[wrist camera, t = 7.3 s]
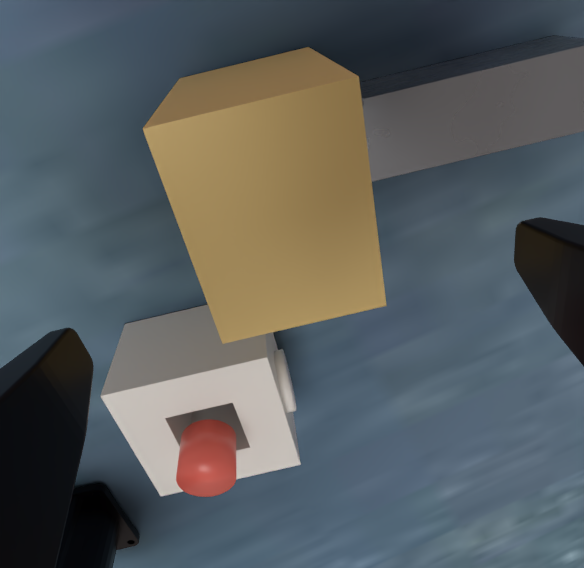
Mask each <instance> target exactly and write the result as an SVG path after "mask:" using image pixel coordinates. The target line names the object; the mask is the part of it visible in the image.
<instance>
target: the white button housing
mask: <svg viewBox="0 0 584 568" xmlns="http://www.w3.org/2000/svg"><path fill="white" fill-rule="evenodd" d="M101 398H102V400H103V401H104V403H105V405H106V406H107V408H108V410H109V411H110V413H111V415H112V416H113V418H114V420H115V421H116V423H117V425H118V426H119V428H120V430H121V431H122V433H123V435H124V436H125V438H126V440H127V441H128V443H129V445H130V446H131V448H132V450H133V451H134V453H135V454H136V456H137V458H138V459H139V461H140V463H141V464H142V466H143V468H144V469H145V471H146V473H147V474H148V476H149V478H150V479H151V481H152V483H153V484H154V486H155V488H156V489H157V491H158V493H159V494H160V496H165V495H170V494H174V493H179V492H183V490H182V489H181V488H180V487H179V486H178V484H177V482H176V474H177V466H178V458H179V450H180V442H181V435H182V433H183V431H184V430H185V428H186V427H188V426H189V425H190V424H192V423H194V422H197V421H200V420H207V419H212V420H219V421H222V422H225V423H227V424H228V425H230V426H231V427H232V428H233V429H234V431H235V433H236V479H240V478H244V477H249V476H253V475H257V474H262V473H266V472H271V471H275V470H279V469H284V468H288V467H293V466H297V465H301V463H300V456H299V449H298V442H297V435H296V428H295V421H294V415H293V411H296V402H295V396H294V390H293V385H292V381H291V376H290V372H289V368H288V364H287V360H286V357H285V354H284V351H283V349H281V350H278V348H277V344H276V341H275V338H274V334H273V332H272V333H267V334H263V335H259V336H254V337H250V338H246V339H242V340H237V341H233V342H229V343H225V344H222V341H221V338H220V336H219V333H218V330H217V328H216V325H215V322H214V320H213V317H212V314H211V311H210V309H209V306H208V305H204V306H199V307H195V308H191V309H187V310H182V311H178V312H174V313H170V314H165V315H161V316H157V317H152V318H148V319H144V320H140V321H135V322H131V323H127V324H125V325H124V328H123V331H122V334H121V337H120V340H119V343H118V346H117V349H116V352H115V355H114V358H113V360H112V363H111V366H110V369H109V372H108V375H107V378H106V381H105V384H104V387H103V390H102V393H101Z"/></svg>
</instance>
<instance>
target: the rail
mask: <svg viewBox="0 0 584 568" xmlns="http://www.w3.org/2000/svg"><path fill="white" fill-rule="evenodd" d="M360 90H361V98H362V107H363V115H364V123H365V131H366V140H367V148H368V156H369V165H370V173H371V181H372V182H373V181H377V180H381V179H385V178H389V177H394V176H398V175H402V174H406V173H410V172H415V171H419V170H423V169H427V168H431V167H436V166H440V165H444V164H448V163H452V162H457V161H461V160H465V159H469V158H473V157H478V156H482V155H486V154H490V153H494V152H499V151H503V150H507V149H511V148H515V147H520V146H524V145H528V144H532V143H536V142H541V141H545V140H549V139H553V138H557V137H562V136H566V135H570V134H574V133H578V132H583V131H584V38H575V37H565V36H555V35H554V36H550V37H545V38H541V39H537V40H533V41H529V42H525V43H521V44H517V45H512V46H508V47H504V48H500V49H496V50H492V51H488V52H483V53H479V54H475V55H471V56H467V57H463V58H459V59H455V60H450V61H446V62H442V63H438V64H434V65H430V66H426V67H422V68H417V69H413V70H409V71H405V72H401V73H397V74H393V75H388V76H384V77H380V78H376V79H372V80H368V81H364V82H360Z"/></svg>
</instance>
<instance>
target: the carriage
mask: <svg viewBox="0 0 584 568" xmlns="http://www.w3.org/2000/svg"><path fill="white" fill-rule="evenodd" d="M143 131H144V134H145V137H146V139H147V142H148V145H149V148H150V150H151V153H152V156H153V158H154V161H155V164H156V166H157V169H158V172H159V174H160V177H161V180H162V182H163V185H164V188H165V191H166V193H167V196H168V199H169V201H170V204H171V207H172V209H173V212H174V215H175V217H176V220H177V223H178V225H179V228H180V231H181V234H182V236H183V239H184V242H185V244H186V247H187V250H188V252H189V255H190V258H191V260H192V263H193V266H194V268H195V271H196V274H197V277H198V279H199V282H200V285H201V287H202V290H203V293H204V295H205V298H206V301H207V303H208V306H209V309H210V311H211V314H212V317H213V320H214V322H215V325H216V328H217V330H218V333H219V336H220V338H221V341H222V344H225V343H229V342H233V341H237V340H242V339H246V338H250V337H254V336H259V335H263V334H267V333H272V332H276V331H280V330H284V329H289V328H293V327H297V326H302V325H306V324H310V323H314V322H319V321H323V320H327V319H332V318H336V317H340V316H344V315H349V314H353V313H357V312H362V311H366V310H370V309H374V308H379V307H383V306H386V298H385V289H384V281H383V273H382V265H381V256H380V248H379V240H378V231H377V223H376V215H375V206H374V198H373V190H372V181H371V173H370V165H369V156H368V148H367V140H366V131H365V123H364V115H363V107H362V98H361V90H360V82H359V76H358V75H356V74H354V73H352V72H351V71H349V70H347V69H345V68H344V67H342V66H340V65H339V64H337V63H335V62H333V61H332V60H330V59H328V58H327V57H325V56H323V55H321V54H320V53H318V52H316V51H315V50H313V49H311V48H309V47H306V48H302V49H298V50H294V51H289V52H285V53H281V54H277V55H273V56H269V57H265V58H261V59H257V60H253V61H248V62H244V63H240V64H236V65H232V66H228V67H224V68H220V69H216V70H212V71H207V72H203V73H199V74H195V75H191V76H187V77H183V78H179V80H178V81H177V82H176V84H175V85H174V87H173V88H172V89H171V91H170V92H169V93H168V95H167V96H166V97H165V99H164V100H163V101H162V103H161V104H160V106H159V107H158V108H157V110H156V111H155V112H154V114H153V115H152V116H151V118H150V119H149V121H148V122H147V123H146V125H145V126H144V127H143Z"/></svg>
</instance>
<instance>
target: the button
mask: <svg viewBox="0 0 584 568" xmlns="http://www.w3.org/2000/svg"><path fill="white" fill-rule="evenodd" d="M235 481H236V433H235V431H234V429H233V428H232V427H231V426H230V425H228V424H227V423H225V422H222V421H219V420H212V419H207V420H200V421H197V422H194V423H192V424H190V425H189V426H188V427H186V428H185V430H184V431H183V433H182V435H181V442H180V450H179V458H178V466H177V474H176V482H177V484H178V486H179V487H180V488H181V489H182V490H183V491H184V492H186V493H188V494H191V495H194V496H200V497H210V496H216V495H219V494H222V493H224V492H226V491H228V490H229V489H230V488H231V487H232V486H233V485H234V483H235Z"/></svg>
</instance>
